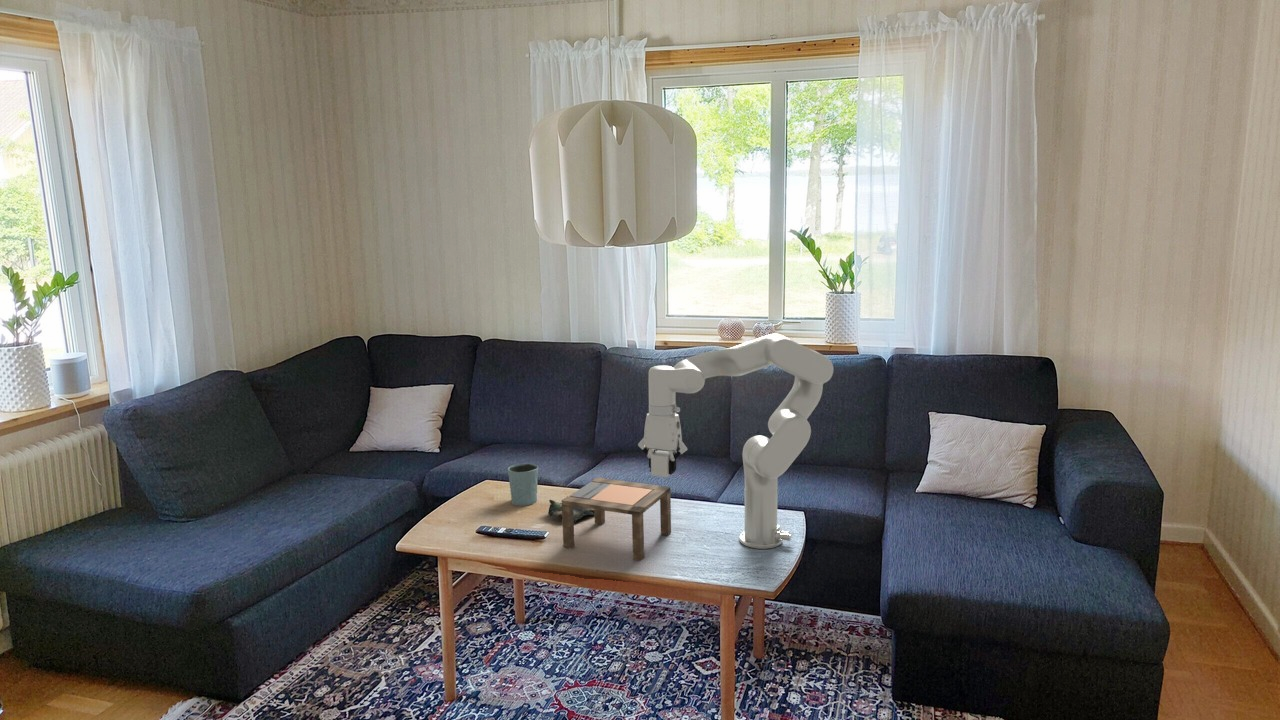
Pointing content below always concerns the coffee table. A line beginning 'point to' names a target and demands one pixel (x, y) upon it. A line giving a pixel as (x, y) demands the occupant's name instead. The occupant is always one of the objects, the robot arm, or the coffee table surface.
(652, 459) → the light gray block
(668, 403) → the robot arm
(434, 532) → the coffee table surface
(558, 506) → the decorative rock
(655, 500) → the miniature wooden side table
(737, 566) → the coffee table surface
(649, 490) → the trapdoor
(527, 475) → the teal cup
